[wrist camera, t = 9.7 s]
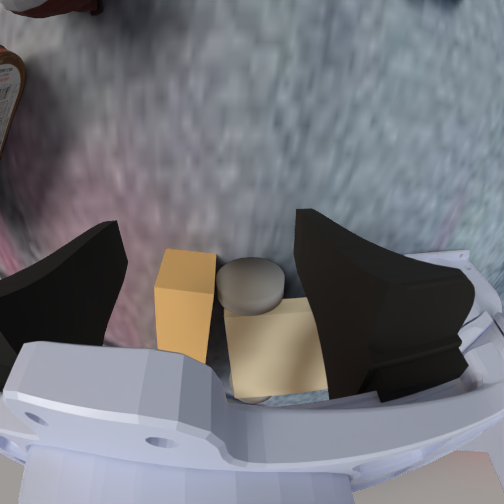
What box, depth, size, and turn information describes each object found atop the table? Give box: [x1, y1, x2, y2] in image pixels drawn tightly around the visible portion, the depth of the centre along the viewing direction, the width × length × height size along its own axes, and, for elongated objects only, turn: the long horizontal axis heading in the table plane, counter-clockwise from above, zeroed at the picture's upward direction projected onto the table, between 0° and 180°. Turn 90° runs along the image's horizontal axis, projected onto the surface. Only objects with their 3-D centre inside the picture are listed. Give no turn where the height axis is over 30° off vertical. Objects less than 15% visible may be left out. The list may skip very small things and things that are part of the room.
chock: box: [154, 248, 216, 364], centre depth 25 cm, size 4×16×5 cm, turn 170°
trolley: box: [216, 257, 328, 404], centre depth 26 cm, size 15×15×5 cm
